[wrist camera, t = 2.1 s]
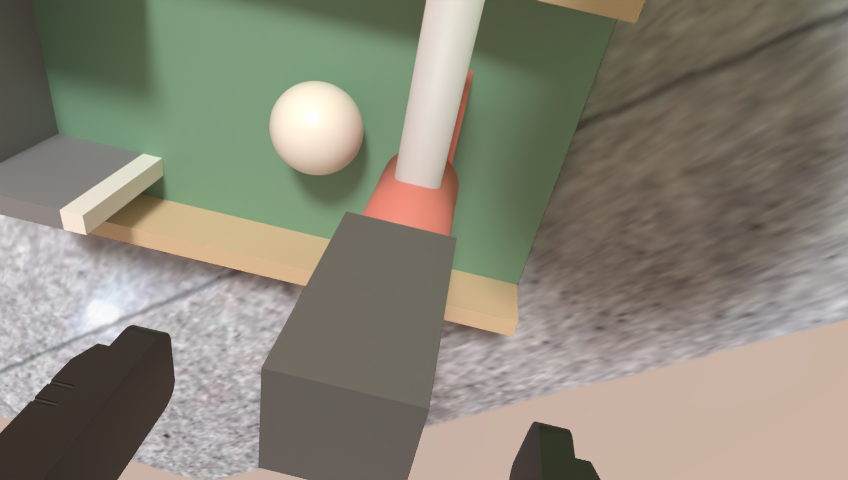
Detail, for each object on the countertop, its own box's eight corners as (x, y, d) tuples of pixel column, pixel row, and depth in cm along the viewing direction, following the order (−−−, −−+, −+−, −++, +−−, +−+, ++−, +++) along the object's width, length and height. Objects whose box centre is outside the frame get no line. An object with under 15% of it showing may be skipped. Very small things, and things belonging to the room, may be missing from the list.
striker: (522, -60, 20) (548, 20, 6) (431, 290, 29) (360, 631, 15) (438, -80, 20) (273, -46, 6) (374, 276, 29) (254, 604, 15)
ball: (378, 81, 23) (356, 111, 20) (366, 162, 26) (345, 200, 22) (291, 60, 23) (254, 86, 20) (286, 142, 26) (253, 178, 22)
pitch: (626, -22, 21) (671, 6, 15) (512, 287, 30) (512, 382, 24) (-7, -171, 21) (-206, -199, 15) (66, 179, 30) (-43, 246, 24)
